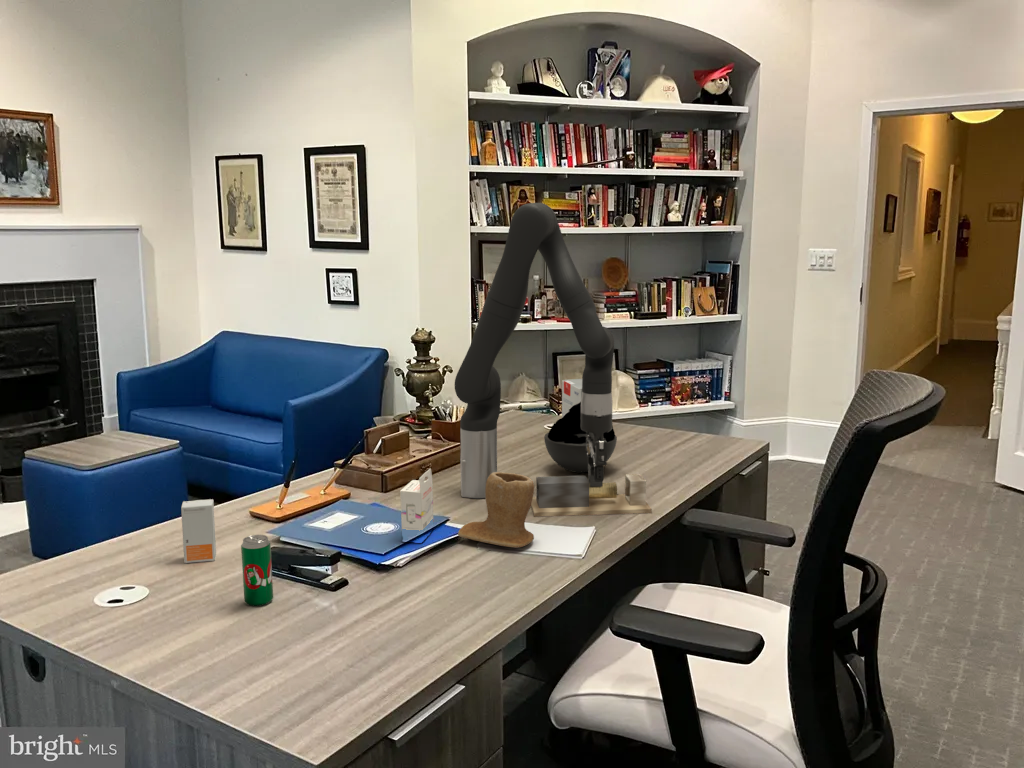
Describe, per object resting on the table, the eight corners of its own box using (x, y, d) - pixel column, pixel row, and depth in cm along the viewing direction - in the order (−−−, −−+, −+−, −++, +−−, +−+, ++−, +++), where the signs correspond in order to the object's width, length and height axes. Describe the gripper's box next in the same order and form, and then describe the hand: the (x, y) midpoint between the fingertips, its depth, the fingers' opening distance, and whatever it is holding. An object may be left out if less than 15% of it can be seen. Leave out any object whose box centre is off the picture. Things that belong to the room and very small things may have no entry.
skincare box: (184, 564, 173) (180, 507, 171) (186, 556, 177) (182, 501, 175) (215, 561, 175) (212, 504, 173) (217, 553, 179) (213, 498, 177)
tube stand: (534, 516, 202) (534, 487, 200) (528, 500, 213) (528, 473, 212) (651, 513, 204) (652, 484, 203) (639, 497, 216) (640, 470, 215)
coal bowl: (591, 486, 226) (592, 416, 222) (529, 473, 238) (530, 406, 234) (629, 469, 241) (630, 403, 238) (569, 458, 253) (570, 395, 250)
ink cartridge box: (413, 529, 193) (411, 466, 191) (434, 531, 192) (433, 467, 190) (400, 542, 185) (398, 476, 182) (422, 544, 184) (421, 478, 181)
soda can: (262, 593, 159) (259, 531, 157) (279, 600, 156) (275, 537, 154) (238, 602, 155) (234, 539, 153) (255, 610, 152) (251, 545, 150)
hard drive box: (560, 441, 274) (561, 379, 270) (583, 439, 276) (583, 378, 272) (578, 453, 259) (579, 388, 255) (602, 451, 261) (603, 386, 258)
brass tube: (546, 502, 206) (547, 468, 204) (544, 497, 209) (545, 463, 208) (616, 500, 207) (617, 466, 206) (613, 495, 211) (614, 462, 209)
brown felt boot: (544, 538, 188) (544, 471, 185) (518, 556, 178) (518, 486, 175) (484, 526, 195) (484, 462, 192) (456, 543, 185) (455, 476, 182)
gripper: (576, 405, 211) (575, 468, 214) (586, 417, 197) (585, 485, 200) (606, 404, 212) (605, 467, 215) (618, 416, 198) (616, 484, 201)
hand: (595, 476), depth 208 cm, fingers open, 8 cm apart
